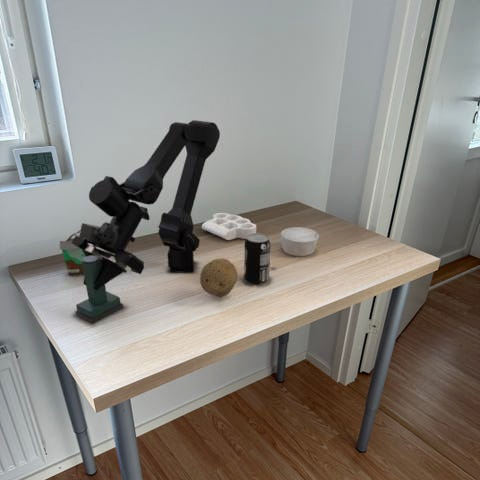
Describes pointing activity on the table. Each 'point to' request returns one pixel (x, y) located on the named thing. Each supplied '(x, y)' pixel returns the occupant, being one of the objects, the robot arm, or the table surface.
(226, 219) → the white egg tray
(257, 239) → the beverage can
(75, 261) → the food container
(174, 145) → the robot arm
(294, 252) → the ramekin
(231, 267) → the natural sponge
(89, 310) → the wiper
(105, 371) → the table surface
